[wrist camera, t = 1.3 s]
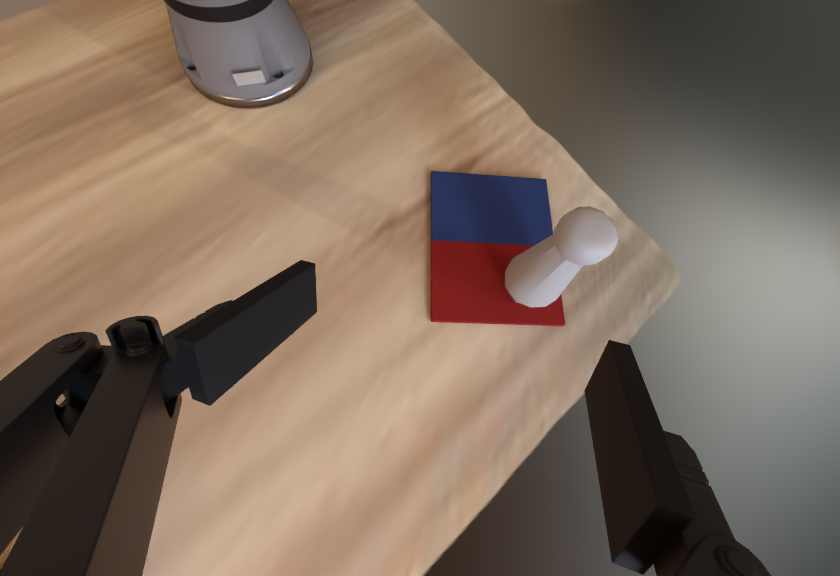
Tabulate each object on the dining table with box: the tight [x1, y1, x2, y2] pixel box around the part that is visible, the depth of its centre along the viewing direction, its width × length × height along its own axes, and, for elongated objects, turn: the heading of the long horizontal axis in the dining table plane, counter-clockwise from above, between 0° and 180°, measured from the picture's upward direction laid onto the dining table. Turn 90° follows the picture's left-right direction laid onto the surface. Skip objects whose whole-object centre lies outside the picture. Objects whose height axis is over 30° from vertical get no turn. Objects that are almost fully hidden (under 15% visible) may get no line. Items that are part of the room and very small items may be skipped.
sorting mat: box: [431, 171, 565, 326], centre depth 38 cm, size 18×14×1 cm
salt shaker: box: [505, 207, 618, 307], centre depth 30 cm, size 6×6×13 cm
